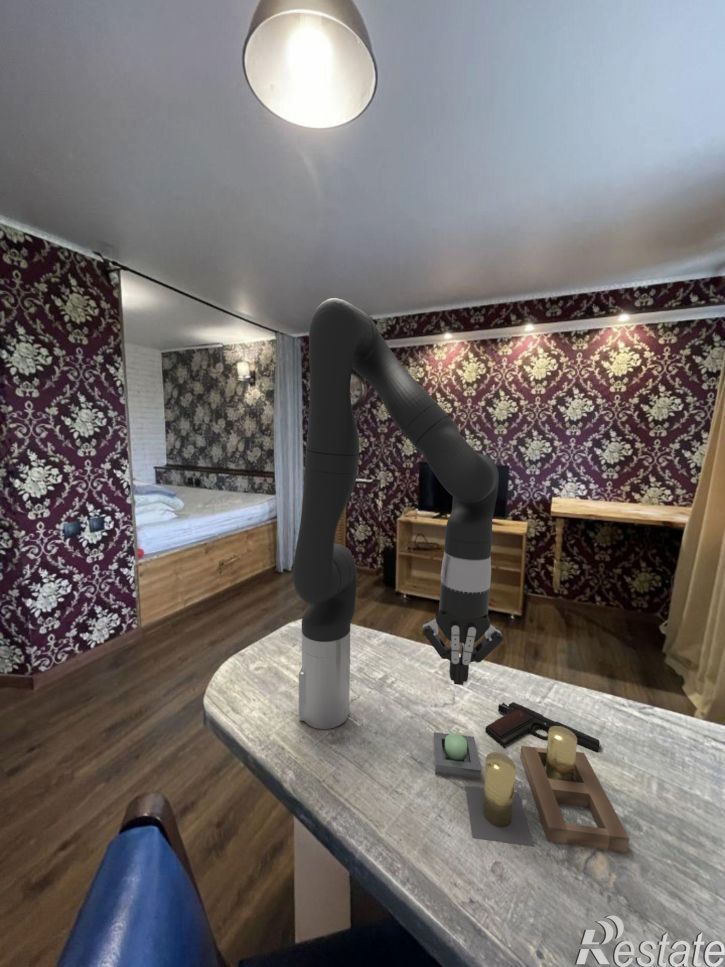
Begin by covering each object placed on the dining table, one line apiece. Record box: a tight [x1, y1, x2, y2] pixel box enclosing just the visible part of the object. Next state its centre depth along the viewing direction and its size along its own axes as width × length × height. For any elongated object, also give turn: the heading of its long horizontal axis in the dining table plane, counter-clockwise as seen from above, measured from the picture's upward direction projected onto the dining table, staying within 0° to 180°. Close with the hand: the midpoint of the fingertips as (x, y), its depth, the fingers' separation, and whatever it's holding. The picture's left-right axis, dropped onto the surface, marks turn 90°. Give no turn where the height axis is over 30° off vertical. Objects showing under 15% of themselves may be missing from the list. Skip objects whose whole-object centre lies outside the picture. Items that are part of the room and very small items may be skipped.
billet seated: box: [544, 726, 578, 782], centre depth 62 cm, size 4×4×8 cm
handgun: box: [484, 701, 601, 754], centre depth 71 cm, size 2×17×12 cm
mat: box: [464, 785, 535, 847], centre depth 57 cm, size 8×8×1 cm
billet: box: [483, 752, 516, 827], centre depth 56 cm, size 4×4×8 cm
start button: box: [445, 733, 467, 761], centre depth 66 cm, size 4×4×2 cm
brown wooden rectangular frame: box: [519, 745, 630, 853], centre depth 59 cm, size 10×14×2 cm
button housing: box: [432, 731, 482, 781], centre depth 66 cm, size 7×7×2 cm
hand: (458, 681), depth 65 cm, fingers closed
